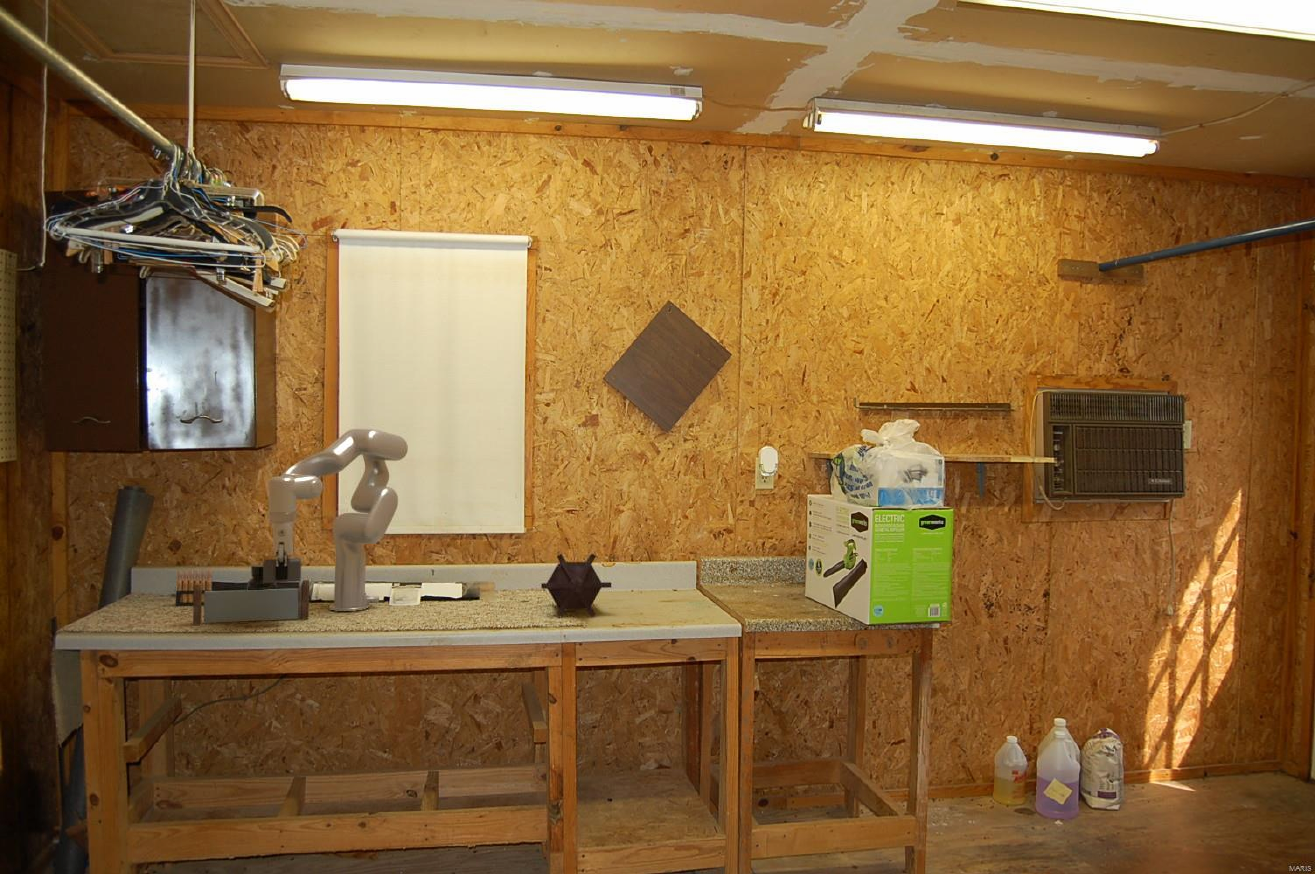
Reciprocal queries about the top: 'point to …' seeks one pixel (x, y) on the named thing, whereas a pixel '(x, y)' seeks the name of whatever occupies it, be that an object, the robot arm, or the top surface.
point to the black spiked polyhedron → (574, 585)
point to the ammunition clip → (191, 587)
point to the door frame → (302, 612)
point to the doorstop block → (293, 570)
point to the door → (250, 605)
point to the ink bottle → (258, 577)
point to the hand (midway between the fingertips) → (282, 576)
